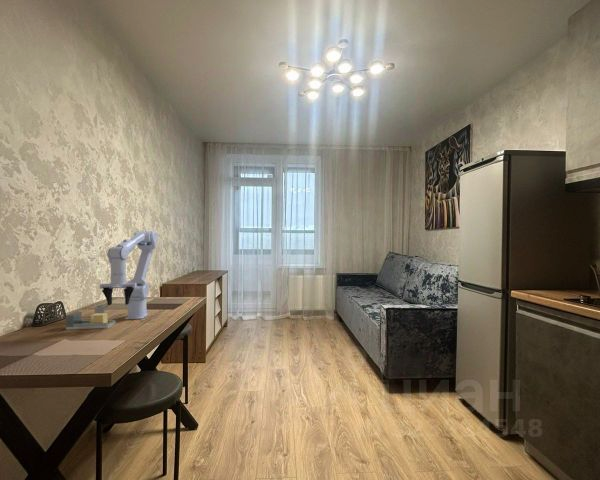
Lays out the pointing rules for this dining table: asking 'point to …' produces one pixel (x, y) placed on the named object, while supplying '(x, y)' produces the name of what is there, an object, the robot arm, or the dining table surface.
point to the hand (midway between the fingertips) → (118, 304)
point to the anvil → (73, 319)
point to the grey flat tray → (91, 325)
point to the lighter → (101, 308)
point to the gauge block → (99, 318)
